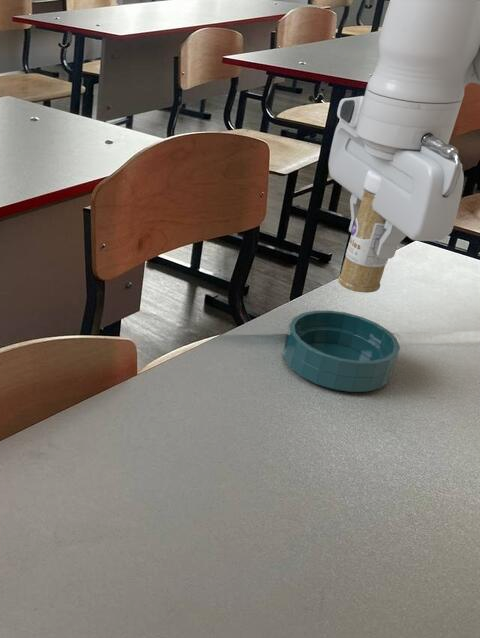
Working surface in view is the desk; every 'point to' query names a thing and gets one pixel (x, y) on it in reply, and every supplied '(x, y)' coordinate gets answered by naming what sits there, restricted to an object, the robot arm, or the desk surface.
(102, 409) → the desk surface
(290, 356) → the dessert bowl
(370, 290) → the sprinkles bottle
